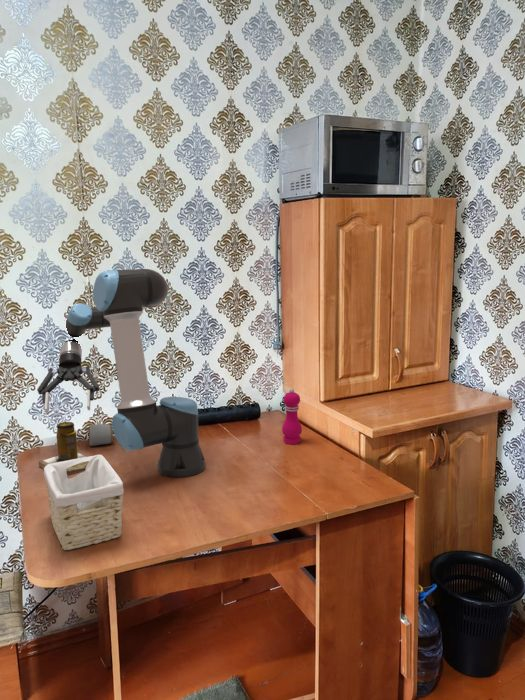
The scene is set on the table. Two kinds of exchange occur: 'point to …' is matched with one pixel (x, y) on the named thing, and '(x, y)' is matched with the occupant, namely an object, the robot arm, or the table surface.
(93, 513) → the storage basket
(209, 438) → the table surface
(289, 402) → the pepper mill
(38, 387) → the robot arm
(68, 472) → the writing board
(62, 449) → the condiment
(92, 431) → the ceramic mug
